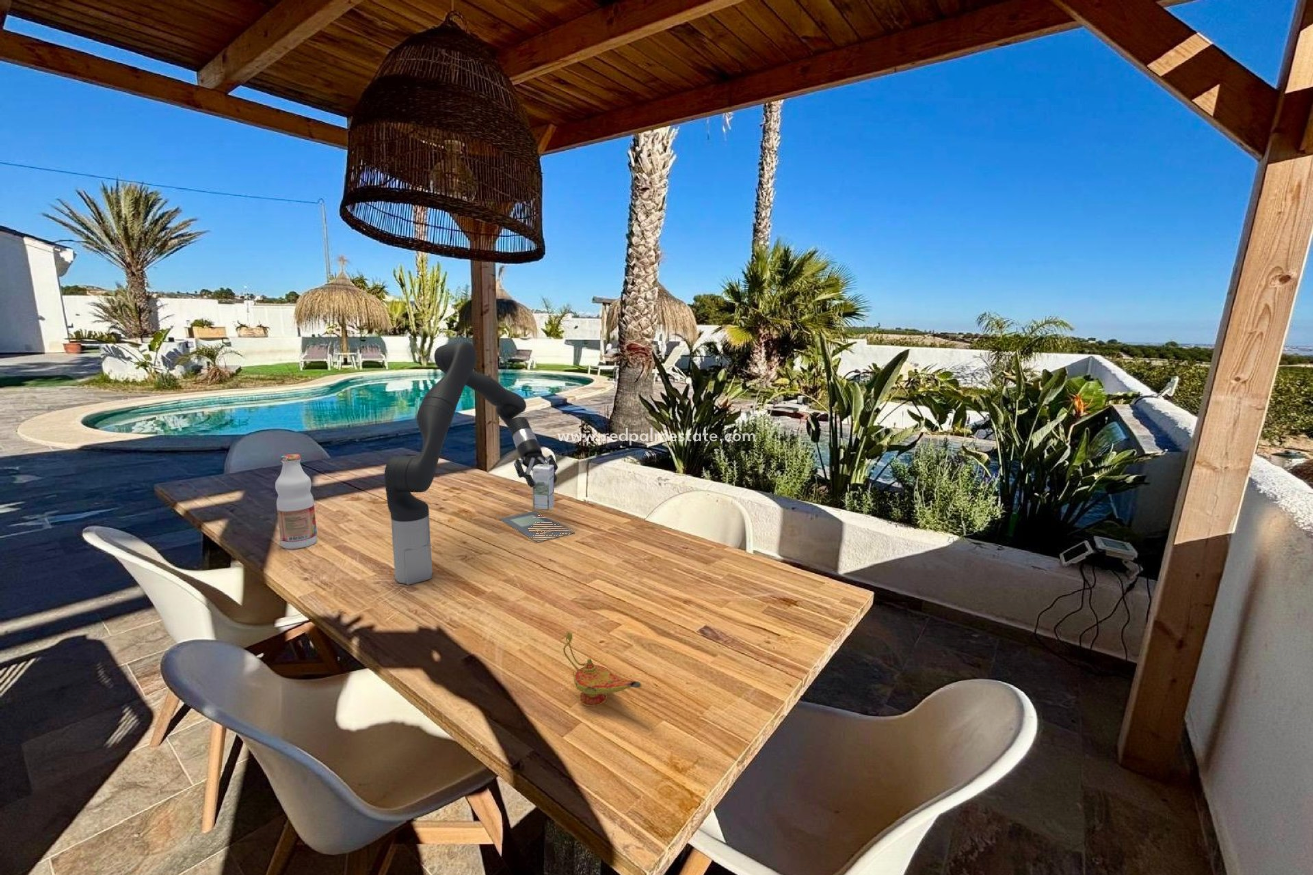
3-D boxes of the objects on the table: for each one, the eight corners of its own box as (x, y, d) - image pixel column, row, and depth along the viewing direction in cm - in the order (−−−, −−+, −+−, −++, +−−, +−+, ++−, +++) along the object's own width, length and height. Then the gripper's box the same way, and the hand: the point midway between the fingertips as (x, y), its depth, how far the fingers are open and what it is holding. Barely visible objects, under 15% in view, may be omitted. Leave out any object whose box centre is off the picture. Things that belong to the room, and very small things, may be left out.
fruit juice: (274, 546, 161) (263, 457, 156) (304, 536, 170) (296, 451, 165) (294, 551, 158) (284, 460, 152) (324, 541, 166) (316, 454, 161)
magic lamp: (628, 732, 89) (629, 673, 87) (550, 691, 98) (550, 637, 96) (651, 709, 94) (652, 653, 92) (575, 673, 104) (575, 621, 102)
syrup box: (554, 505, 181) (554, 464, 178) (549, 510, 175) (549, 468, 172) (538, 504, 181) (537, 463, 179) (532, 509, 175) (532, 467, 173)
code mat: (574, 533, 178) (574, 532, 178) (537, 542, 169) (537, 542, 169) (534, 511, 199) (534, 511, 199) (499, 519, 190) (499, 518, 190)
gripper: (511, 440, 176) (528, 481, 169) (549, 436, 185) (566, 475, 178) (504, 453, 180) (520, 493, 174) (541, 448, 190) (558, 486, 183)
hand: (544, 484), depth 176 cm, fingers closed on syrup box, 8 cm apart
